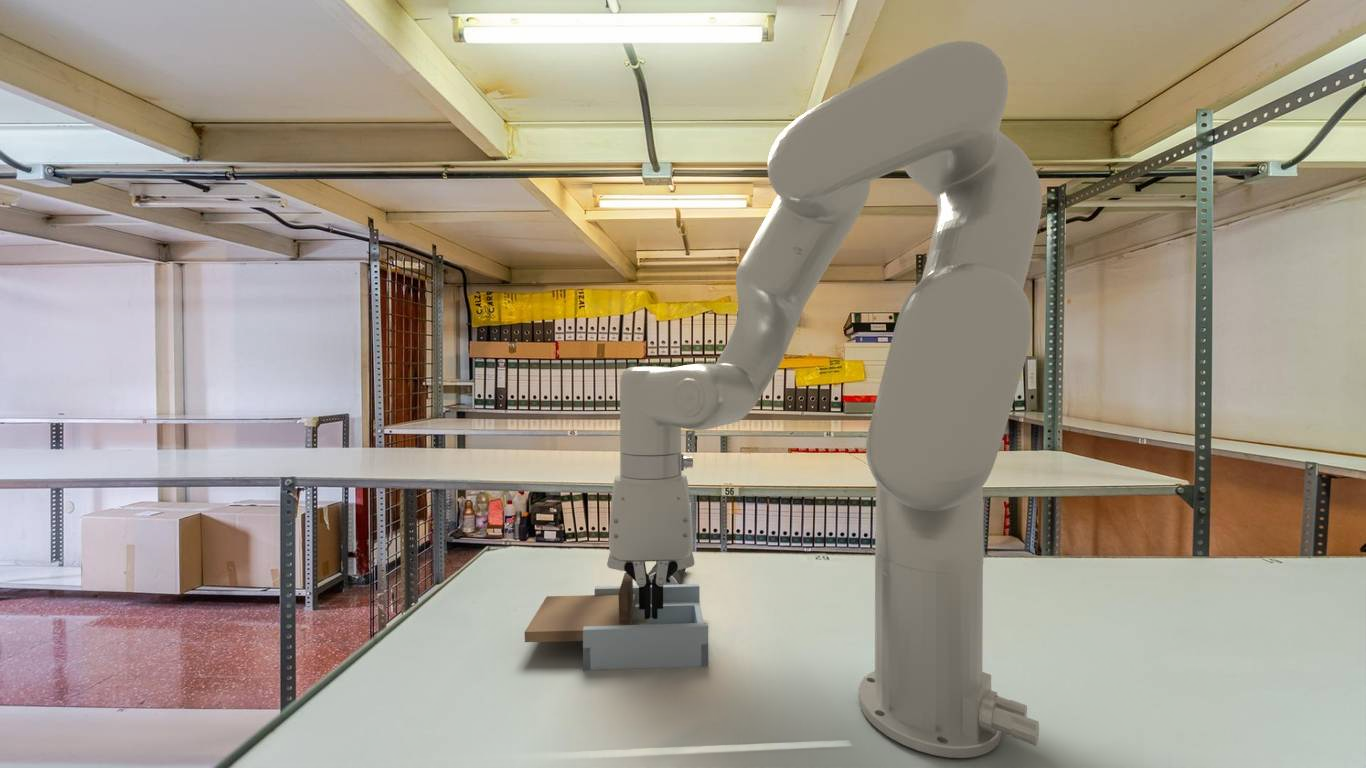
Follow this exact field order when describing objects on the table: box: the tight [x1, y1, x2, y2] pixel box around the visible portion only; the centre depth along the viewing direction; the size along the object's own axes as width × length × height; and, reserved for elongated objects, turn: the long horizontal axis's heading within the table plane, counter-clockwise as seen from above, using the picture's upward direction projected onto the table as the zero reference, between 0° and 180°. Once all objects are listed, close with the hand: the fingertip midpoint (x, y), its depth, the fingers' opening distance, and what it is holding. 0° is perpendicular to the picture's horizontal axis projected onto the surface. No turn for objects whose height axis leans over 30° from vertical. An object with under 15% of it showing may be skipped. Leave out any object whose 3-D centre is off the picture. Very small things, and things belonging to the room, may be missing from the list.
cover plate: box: [524, 572, 636, 643], centre depth 64 cm, size 12×10×5 cm
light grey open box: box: [582, 583, 709, 671], centre depth 64 cm, size 14×12×5 cm
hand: (651, 613), depth 64 cm, fingers closed
